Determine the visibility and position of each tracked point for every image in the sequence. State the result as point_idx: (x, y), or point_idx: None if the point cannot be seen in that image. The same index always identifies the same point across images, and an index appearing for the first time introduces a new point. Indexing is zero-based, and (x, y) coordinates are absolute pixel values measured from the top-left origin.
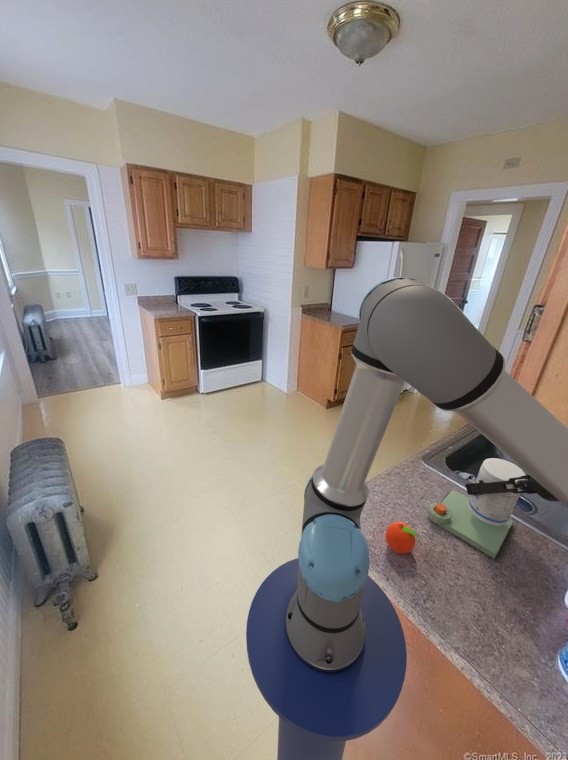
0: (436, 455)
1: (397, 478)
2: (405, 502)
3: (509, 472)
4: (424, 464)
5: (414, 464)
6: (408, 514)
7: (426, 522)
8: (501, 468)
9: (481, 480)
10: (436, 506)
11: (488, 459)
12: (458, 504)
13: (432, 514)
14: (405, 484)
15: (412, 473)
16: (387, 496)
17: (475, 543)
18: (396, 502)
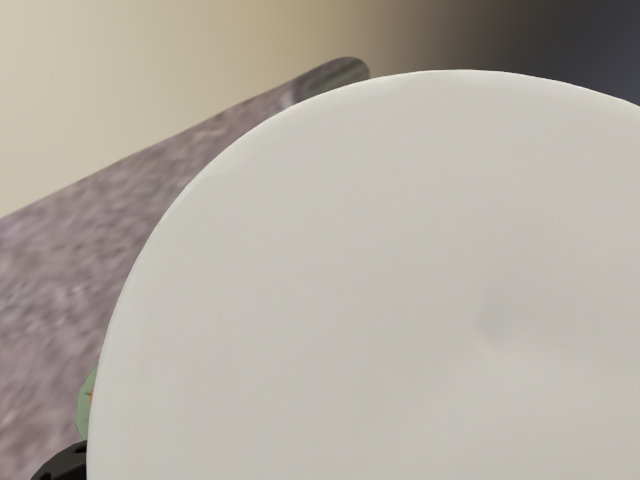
0: (359, 66)
1: (137, 177)
2: (84, 300)
3: (597, 457)
4: (288, 107)
5: (249, 110)
6: (49, 370)
7: None
8: (457, 304)
9: (80, 470)
10: (93, 388)
11: (340, 98)
12: None
13: (79, 420)
14: (150, 205)
15: (214, 151)
16: (30, 270)
17: None
18: (45, 301)
